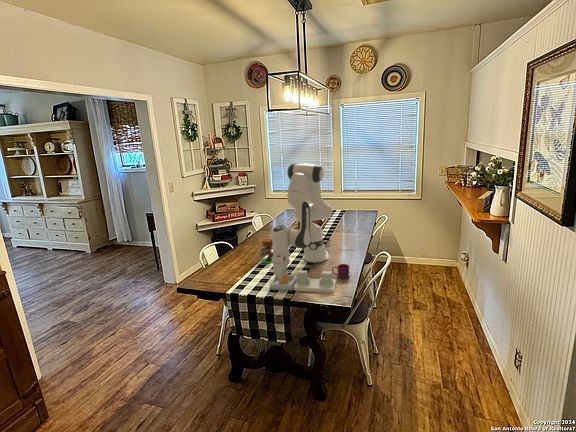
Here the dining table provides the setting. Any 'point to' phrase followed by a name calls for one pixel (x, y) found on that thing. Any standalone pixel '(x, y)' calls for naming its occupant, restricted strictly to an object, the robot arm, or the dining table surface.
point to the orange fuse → (284, 278)
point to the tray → (287, 287)
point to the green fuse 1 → (302, 276)
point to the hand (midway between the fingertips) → (283, 276)
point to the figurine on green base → (267, 251)
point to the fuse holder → (315, 286)
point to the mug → (342, 271)
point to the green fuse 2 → (327, 277)
